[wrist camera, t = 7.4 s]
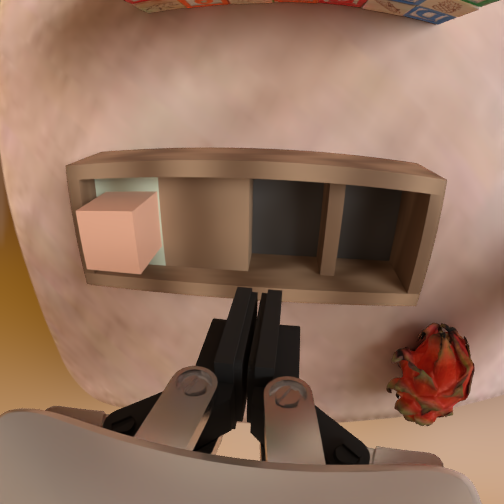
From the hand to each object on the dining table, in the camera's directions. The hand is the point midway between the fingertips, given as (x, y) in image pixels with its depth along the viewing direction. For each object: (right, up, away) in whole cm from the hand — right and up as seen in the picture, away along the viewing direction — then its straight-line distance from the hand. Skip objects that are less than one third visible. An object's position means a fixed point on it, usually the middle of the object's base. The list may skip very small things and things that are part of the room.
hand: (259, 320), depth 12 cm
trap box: (0, +6, +12) cm, 13 cm away
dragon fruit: (+17, -7, +17) cm, 25 cm away
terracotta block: (-9, +5, +10) cm, 14 cm away
